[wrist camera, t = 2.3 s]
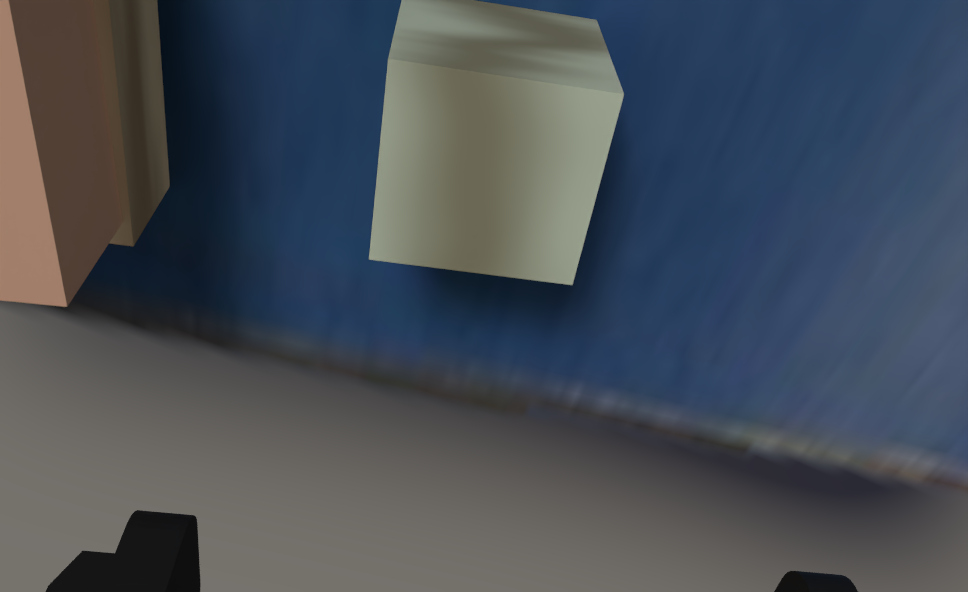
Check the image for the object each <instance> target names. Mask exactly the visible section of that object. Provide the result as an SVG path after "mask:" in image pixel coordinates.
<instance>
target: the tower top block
mask: <svg viewBox="0 0 968 592" xmlns="http://www.w3.org/2000/svg"><path fill="white" fill-rule="evenodd" d="M122 223H123V220H122V212H121V205H120V197H119V190H118V182H117V175H116V167H115V160H114V152H113V145H112V137H111V130H110V123H109V115H108V108H107V100H106V93H105V85H104V78H103V70H102V63H101V55H100V48H99V40H98V33H97V25H96V18H95V10H94V3H93V0H0V300H1V301H11V302H21V303H32V304H42V305H52V306H63V307H67V306H68V305H69V303H70V302H71V300H72V299H73V297H74V296H75V294H76V293H77V291H78V290H79V288H80V287H81V285H82V284H83V282H84V281H85V279H86V278H87V276H88V274H89V273H90V271H91V270H92V268H93V267H94V265H95V264H96V262H97V261H98V259H99V258H100V256H101V255H102V253H103V252H104V250H105V249H106V247H107V246H108V244H109V242H110V241H111V239H112V238H113V236H114V235H115V233H116V232H117V230H118V229H119V227H120V226H121V224H122Z"/></svg>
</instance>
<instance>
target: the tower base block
mask: <svg viewBox="0 0 968 592" xmlns="http://www.w3.org/2000/svg"><path fill="white" fill-rule="evenodd" d="M93 3H94V10H95V18H96V25H97V33H98V40H99V48H100V55H101V63H102V70H103V78H104V85H105V93H106V100H107V108H108V115H109V123H110V130H111V137H112V145H113V152H114V160H115V167H116V175H117V182H118V190H119V197H120V205H121V212H122V220H123V223H122V224H121V226H120V227H119V229H118V230H117V232H116V233H115V235H114V236H113V238H112V239H111V241H110V242H109V243H110V244H118V245H126V246H134V245H135V243H136V241H137V240H138V238H139V236H140V235H141V233H142V232H143V230H144V228H145V227H146V225H147V223H148V222H149V220H150V218H151V217H152V215H153V213H154V212H155V210H156V208H157V207H158V205H159V203H160V202H161V200H162V199H163V197H164V195H165V194H166V192H167V190H168V189H169V187H170V181H169V166H168V152H167V137H166V122H165V107H164V93H163V78H162V63H161V49H160V34H159V19H158V4H157V0H93Z"/></svg>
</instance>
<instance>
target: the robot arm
mask: <svg viewBox="0 0 968 592" xmlns="http://www.w3.org/2000/svg"><path fill="white" fill-rule="evenodd" d="M199 568H200V567H199V549H198V530H197V519H196V517H195V516H194V515H184V514H172V513H161V512H149V511H139V510H137V511H135V512H134V513H133V514H132V515H131V517H130V519H129V521H128V523H127V525H126V528H125V530H124V533H123V535H122V537H121V540H120V542H119V545H118V548H117V550H116V553H115V554H114V553H102V552H91V551H82V552H81V553H80V554H79V555H78V556H77V557H76V558H75V559H74V560H73V561H72V562H71V563H70V564H69V565H68V566H67V567H66V568H65V569H64V570H63V571H62V572H61V574H60V575H59V576H58V577H57V578H56V579H55V580H54V581H53V582H52V583H51V584H50V585H49V586H48V588H47V590H46V592H200V569H199ZM774 592H858V591H857V589H856V587H855V586H854V584H853V583H852V582H851V580H850V579H848V578H847V577H845V576H842V575H834V574H823V573H811V572H799V571H790V572H787V573H786V574H785V575H784V577H783V578H782V580H781V581H780V583H779V585H778V586H777V588H776V590H775V591H774Z"/></svg>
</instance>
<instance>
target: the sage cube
mask: <svg viewBox="0 0 968 592" xmlns="http://www.w3.org/2000/svg"><path fill="white" fill-rule="evenodd" d="M623 96H624V93H623V90H622V87H621V85H620V82H619V79H618V77H617V74H616V71H615V68H614V66H613V63H612V60H611V58H610V55H609V52H608V50H607V47H606V44H605V41H604V39H603V36H602V33H601V31H600V28H599V25H598V22H597V20H594V19H587V18H581V17H575V16H569V15H562V14H556V13H550V12H544V11H537V10H531V9H525V8H519V7H512V6H506V5H500V4H494V3H487V2H481V1H475V0H402V1H401V6H400V10H399V14H398V19H397V23H396V27H395V32H394V36H393V40H392V45H391V49H390V53H389V58H388V67H387V77H386V87H385V98H384V108H383V119H382V129H381V139H380V150H379V160H378V171H377V181H376V191H375V202H374V212H373V223H372V233H371V243H370V254H369V259H370V260H377V261H385V262H393V263H401V264H409V265H417V266H425V267H433V268H441V269H448V270H456V271H464V272H472V273H480V274H488V275H496V276H504V277H512V278H519V279H527V280H535V281H543V282H551V283H559V284H567V285H573V281H574V277H575V274H576V270H577V266H578V263H579V259H580V255H581V252H582V248H583V244H584V240H585V237H586V233H587V229H588V226H589V222H590V218H591V215H592V211H593V207H594V204H595V200H596V196H597V192H598V189H599V185H600V181H601V178H602V174H603V170H604V167H605V163H606V159H607V155H608V152H609V148H610V144H611V141H612V137H613V133H614V130H615V126H616V122H617V118H618V115H619V111H620V107H621V104H622V100H623Z"/></svg>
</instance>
